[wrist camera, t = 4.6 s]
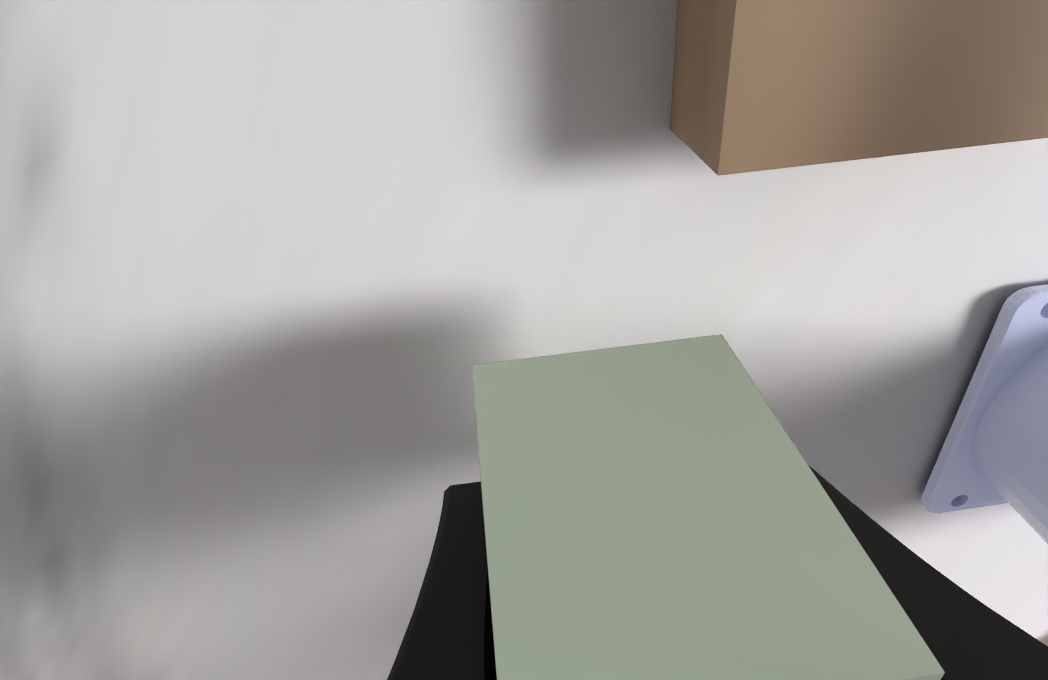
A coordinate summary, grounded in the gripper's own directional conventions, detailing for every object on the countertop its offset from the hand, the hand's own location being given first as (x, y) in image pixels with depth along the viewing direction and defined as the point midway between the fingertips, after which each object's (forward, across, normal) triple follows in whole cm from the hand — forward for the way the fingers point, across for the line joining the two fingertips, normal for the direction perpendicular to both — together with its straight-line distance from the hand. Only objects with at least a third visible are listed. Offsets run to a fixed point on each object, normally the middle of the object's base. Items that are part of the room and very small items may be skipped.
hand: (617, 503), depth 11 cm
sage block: (+2, 0, 0) cm, 2 cm away
